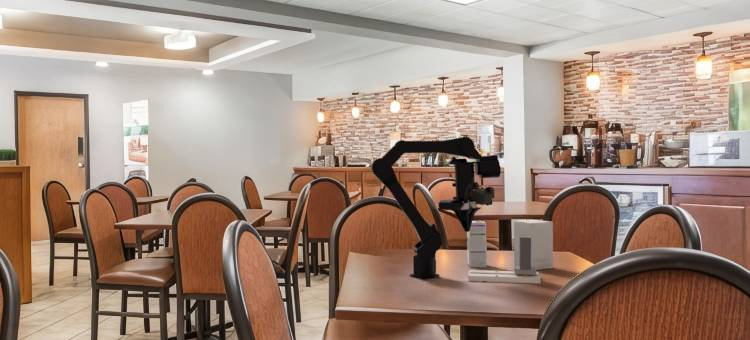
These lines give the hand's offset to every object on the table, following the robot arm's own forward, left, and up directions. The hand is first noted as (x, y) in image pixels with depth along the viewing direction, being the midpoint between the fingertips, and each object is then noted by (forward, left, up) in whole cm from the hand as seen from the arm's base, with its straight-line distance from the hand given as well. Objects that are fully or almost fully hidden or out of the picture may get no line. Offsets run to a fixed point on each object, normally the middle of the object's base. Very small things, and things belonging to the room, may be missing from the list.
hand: (467, 231), depth 176 cm
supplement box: (+26, -6, -14) cm, 30 cm away
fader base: (+3, -9, -13) cm, 17 cm away
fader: (+8, -15, -11) cm, 20 cm away
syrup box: (+15, +8, -14) cm, 22 cm away
